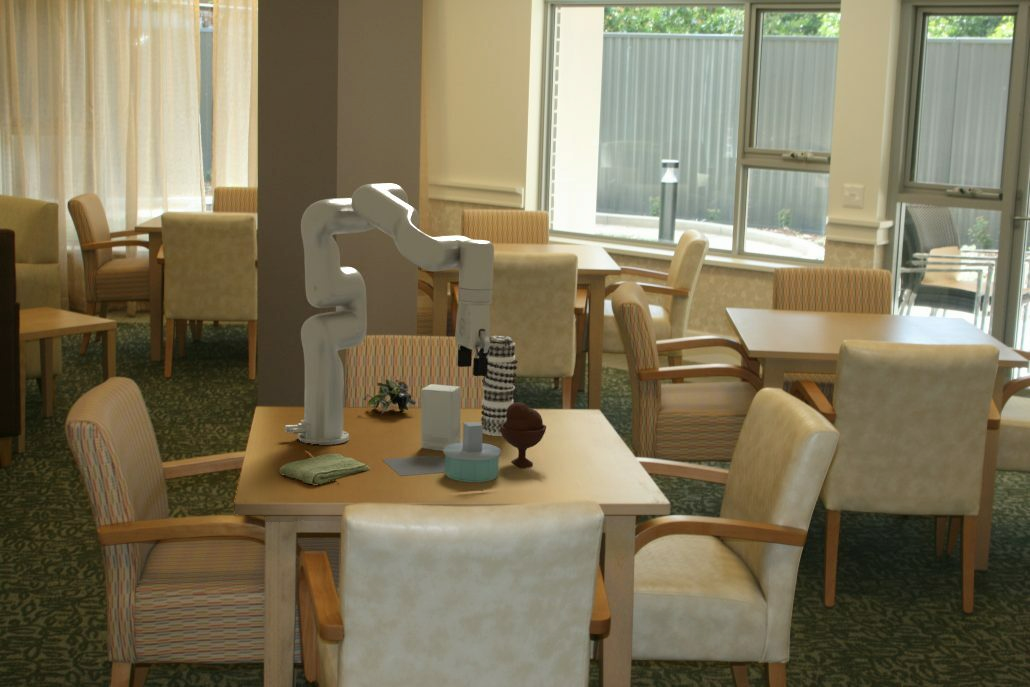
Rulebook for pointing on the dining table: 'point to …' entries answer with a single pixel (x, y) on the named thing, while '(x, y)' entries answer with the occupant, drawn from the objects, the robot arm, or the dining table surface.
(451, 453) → the lid
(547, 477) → the dining table surface
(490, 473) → the bowl
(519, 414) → the ice cream bowl
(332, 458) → the washcloth
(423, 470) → the mat
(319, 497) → the dining table surface
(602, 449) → the dining table surface
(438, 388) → the skincare box
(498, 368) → the decorative candle
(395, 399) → the green leafy plant
